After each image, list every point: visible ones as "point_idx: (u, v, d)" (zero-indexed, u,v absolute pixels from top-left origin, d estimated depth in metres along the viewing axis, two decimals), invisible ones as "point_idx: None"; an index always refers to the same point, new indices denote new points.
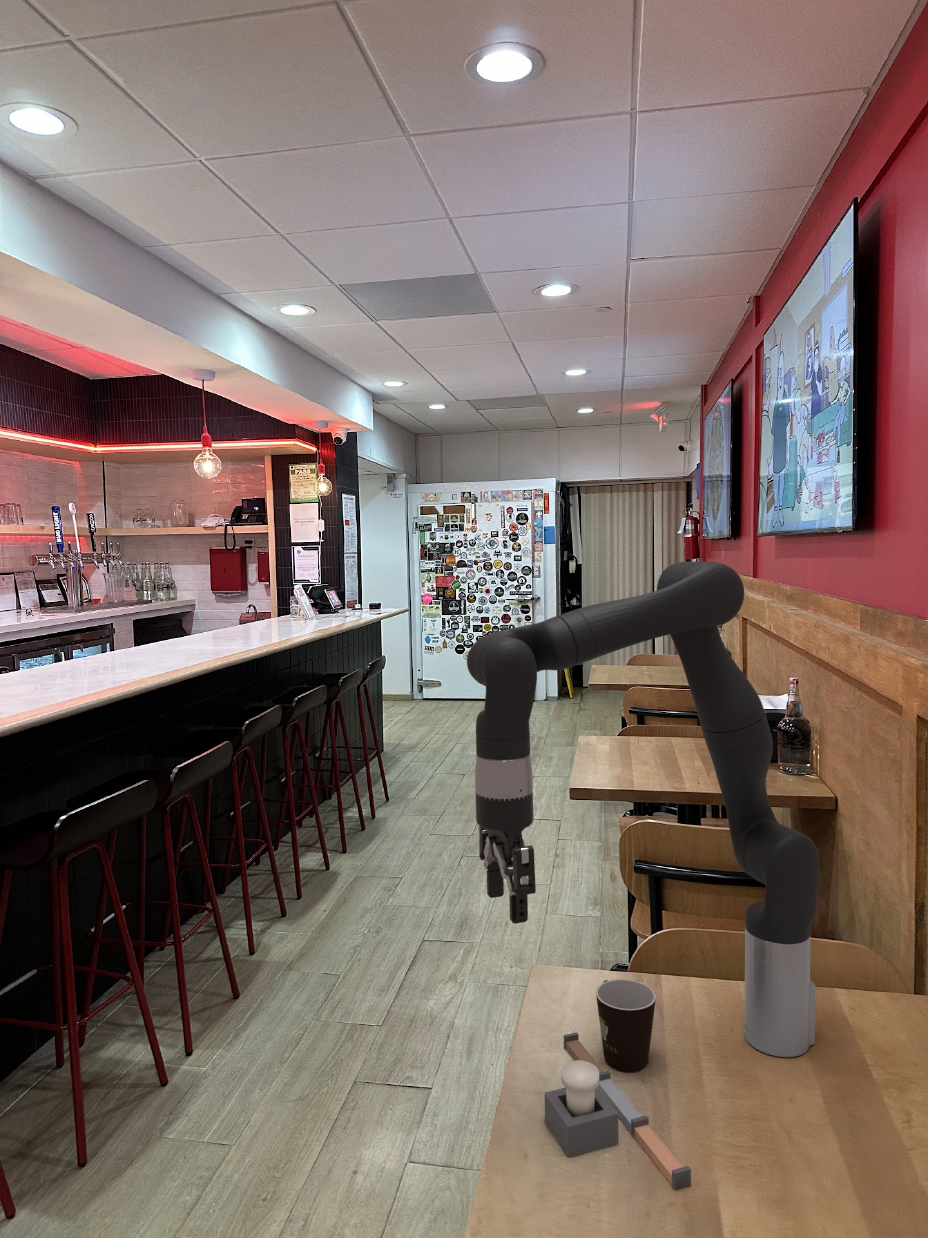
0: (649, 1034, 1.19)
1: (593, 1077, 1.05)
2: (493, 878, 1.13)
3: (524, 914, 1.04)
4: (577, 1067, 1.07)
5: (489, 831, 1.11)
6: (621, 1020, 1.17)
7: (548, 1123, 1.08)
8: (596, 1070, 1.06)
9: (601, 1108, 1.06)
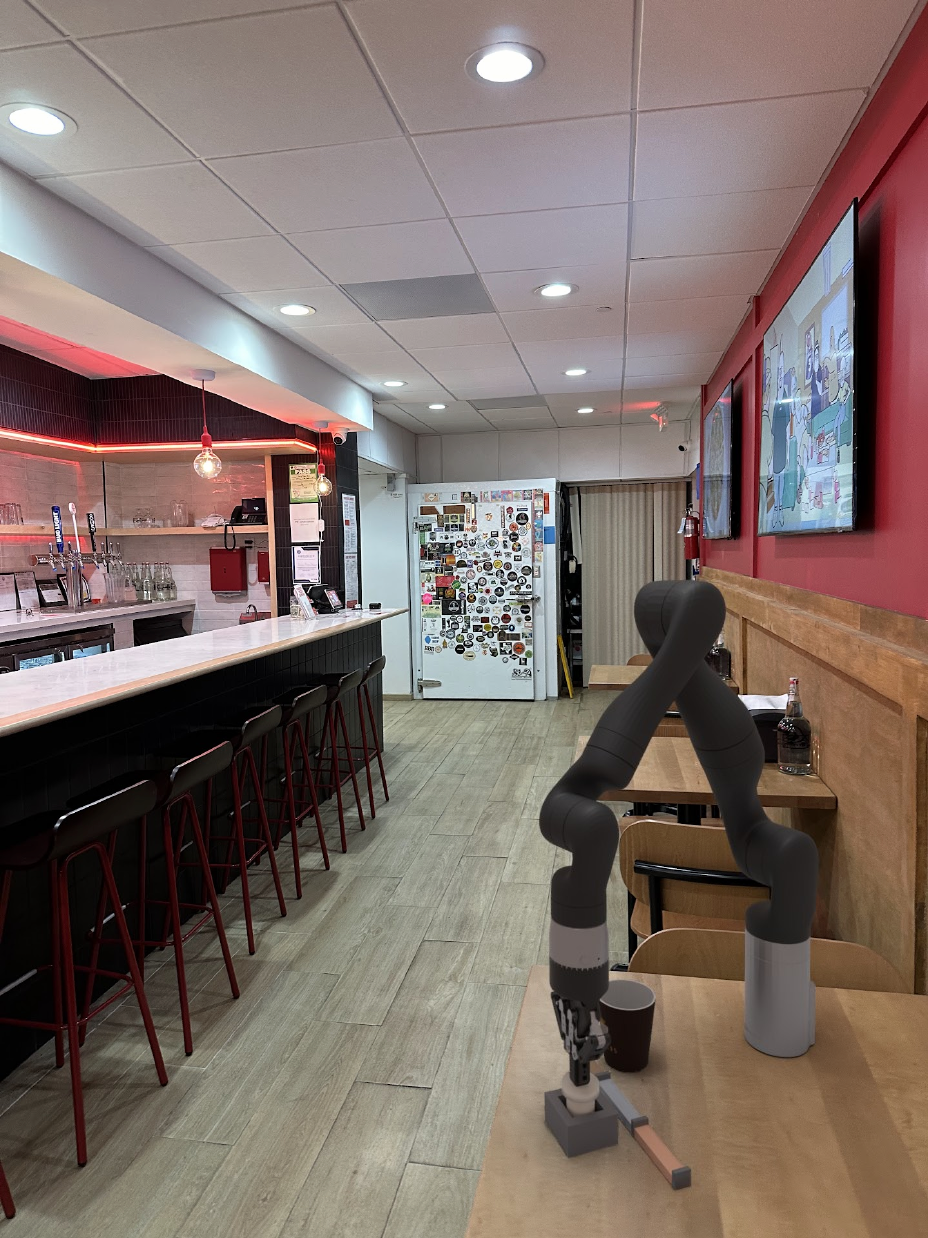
0: (649, 1034, 1.19)
1: (593, 1087, 1.05)
2: None
3: (587, 1078, 1.05)
4: None
5: None
6: (621, 1020, 1.17)
7: (548, 1123, 1.08)
8: (596, 1080, 1.06)
9: (601, 1108, 1.06)
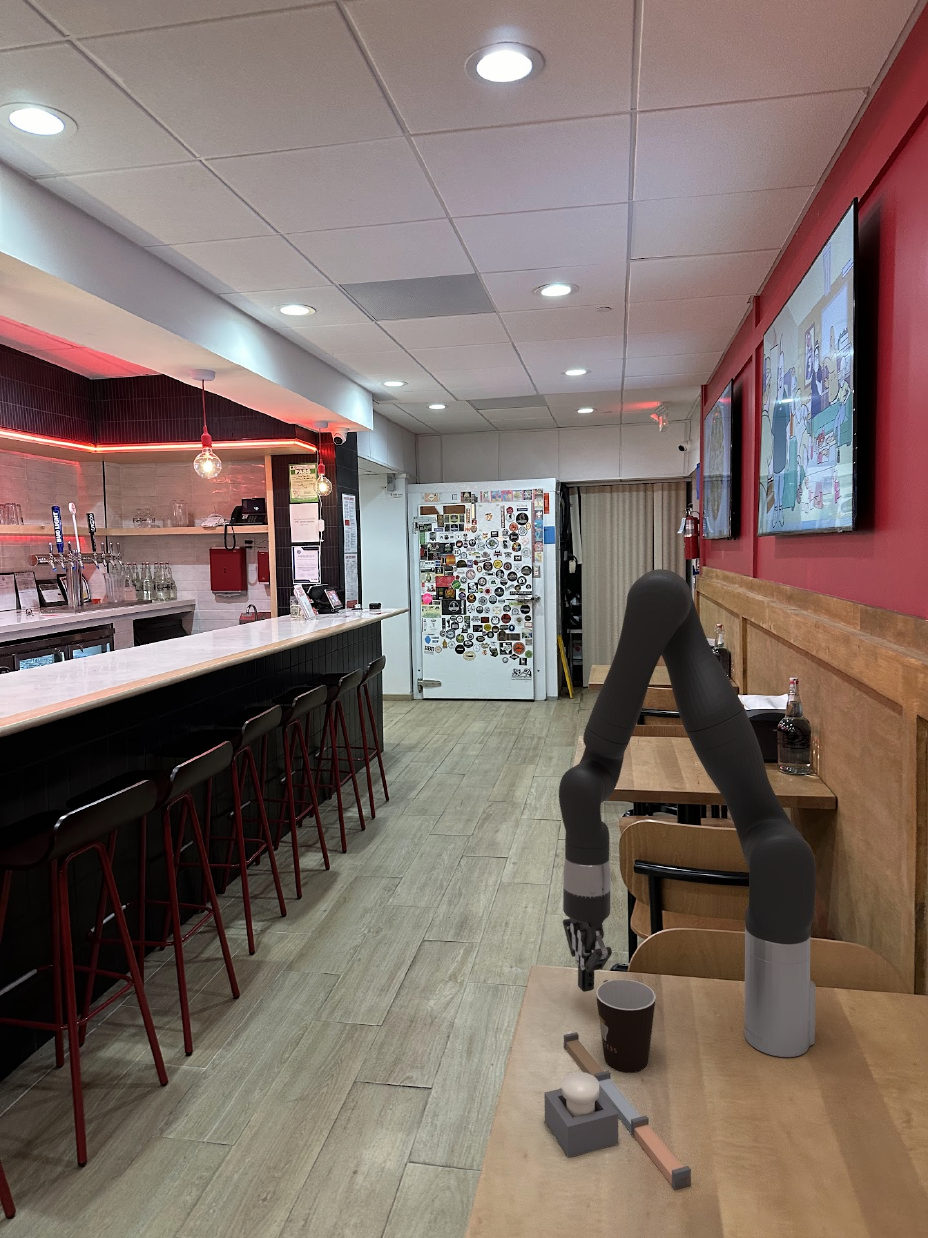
0: (649, 1034, 1.19)
1: (593, 1089, 1.05)
2: None
3: (592, 985, 1.33)
4: (577, 1079, 1.07)
5: None
6: (621, 1020, 1.17)
7: (548, 1123, 1.08)
8: (596, 1082, 1.06)
9: (601, 1108, 1.06)
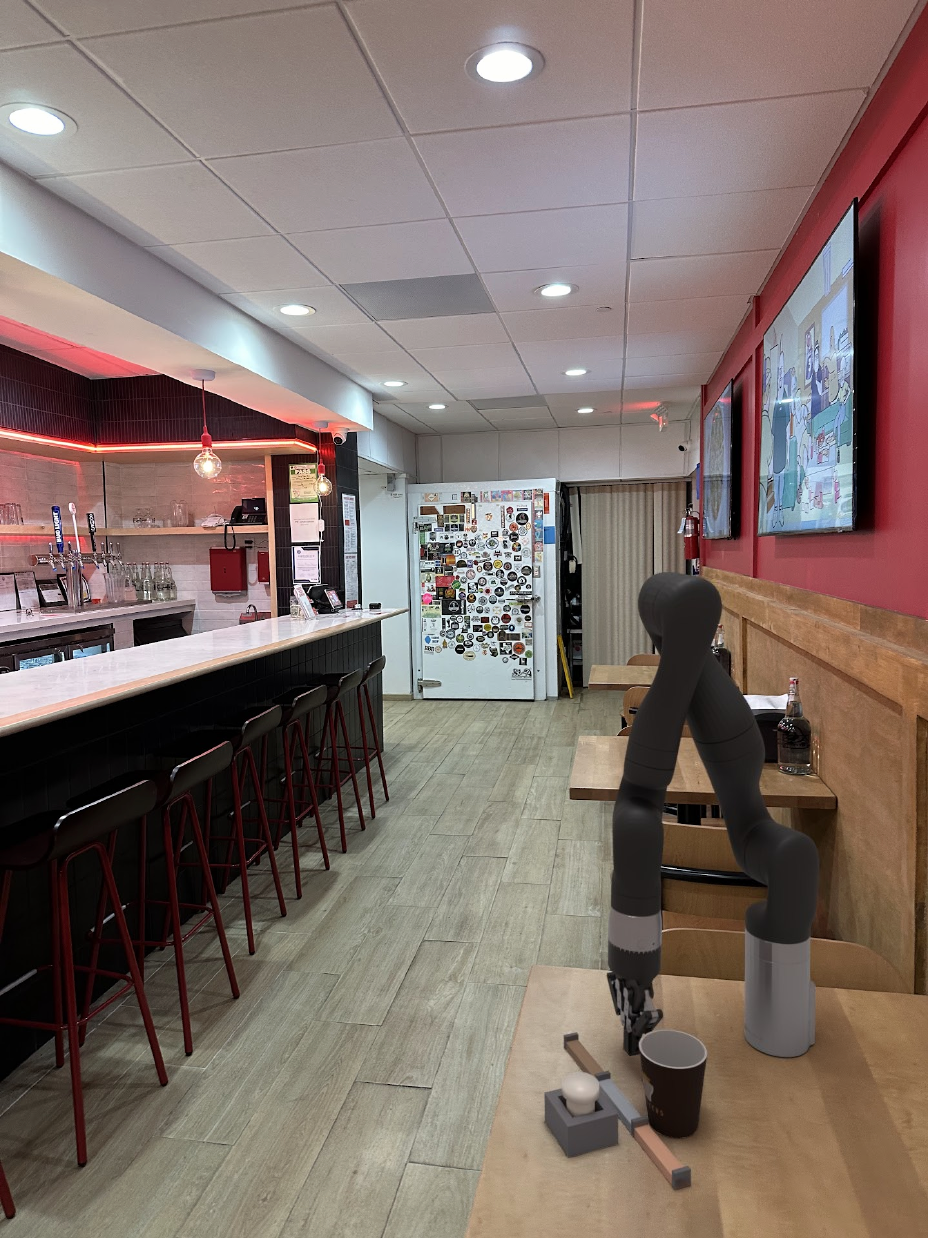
0: (700, 1094, 1.06)
1: (593, 1089, 1.05)
2: None
3: None
4: (577, 1079, 1.07)
5: None
6: (669, 1080, 1.04)
7: (548, 1123, 1.08)
8: (596, 1082, 1.06)
9: (601, 1108, 1.06)
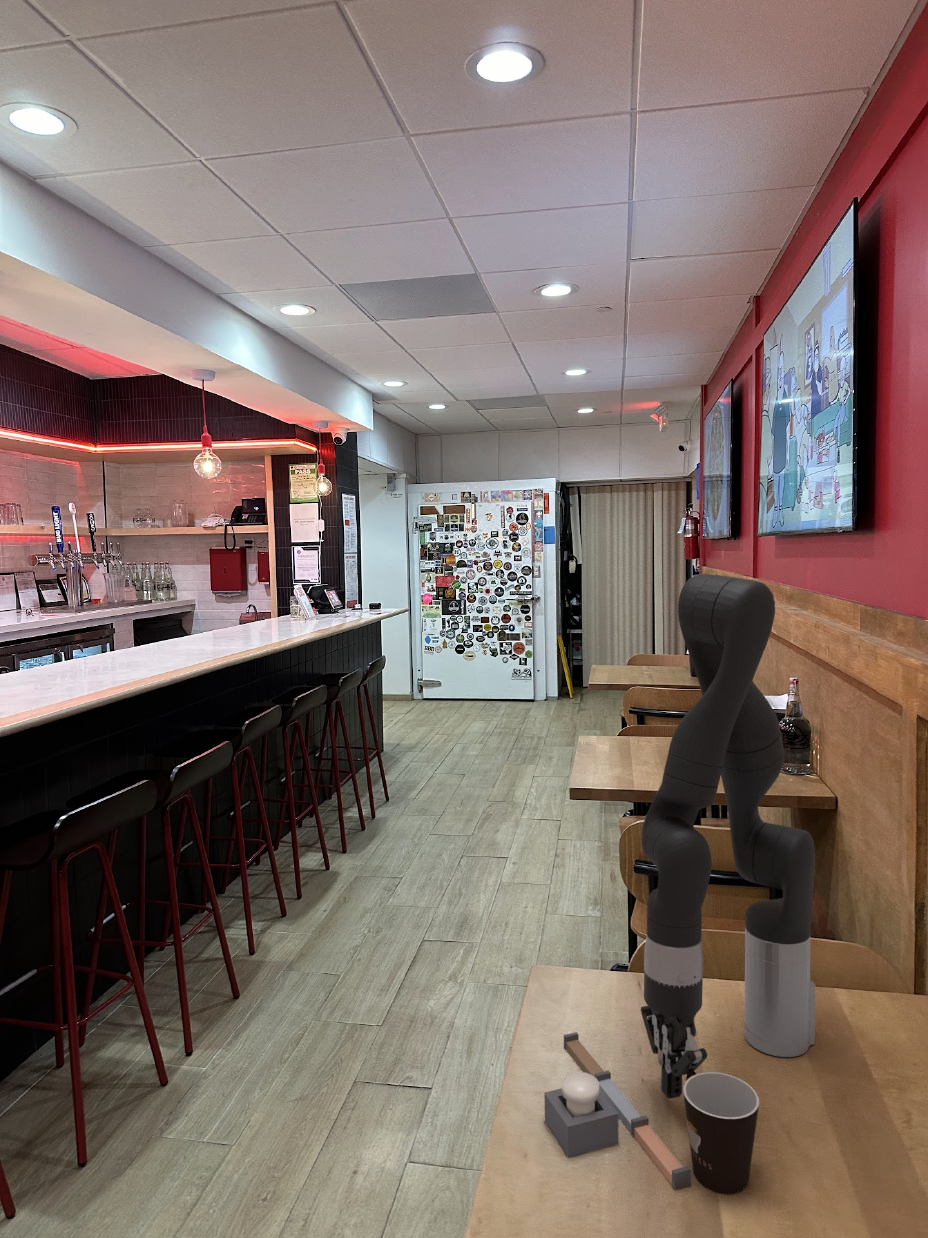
0: (751, 1146, 0.96)
1: (593, 1089, 1.05)
2: None
3: (679, 1091, 1.09)
4: (577, 1079, 1.07)
5: None
6: (719, 1131, 0.95)
7: (548, 1123, 1.08)
8: (596, 1082, 1.06)
9: (601, 1108, 1.06)
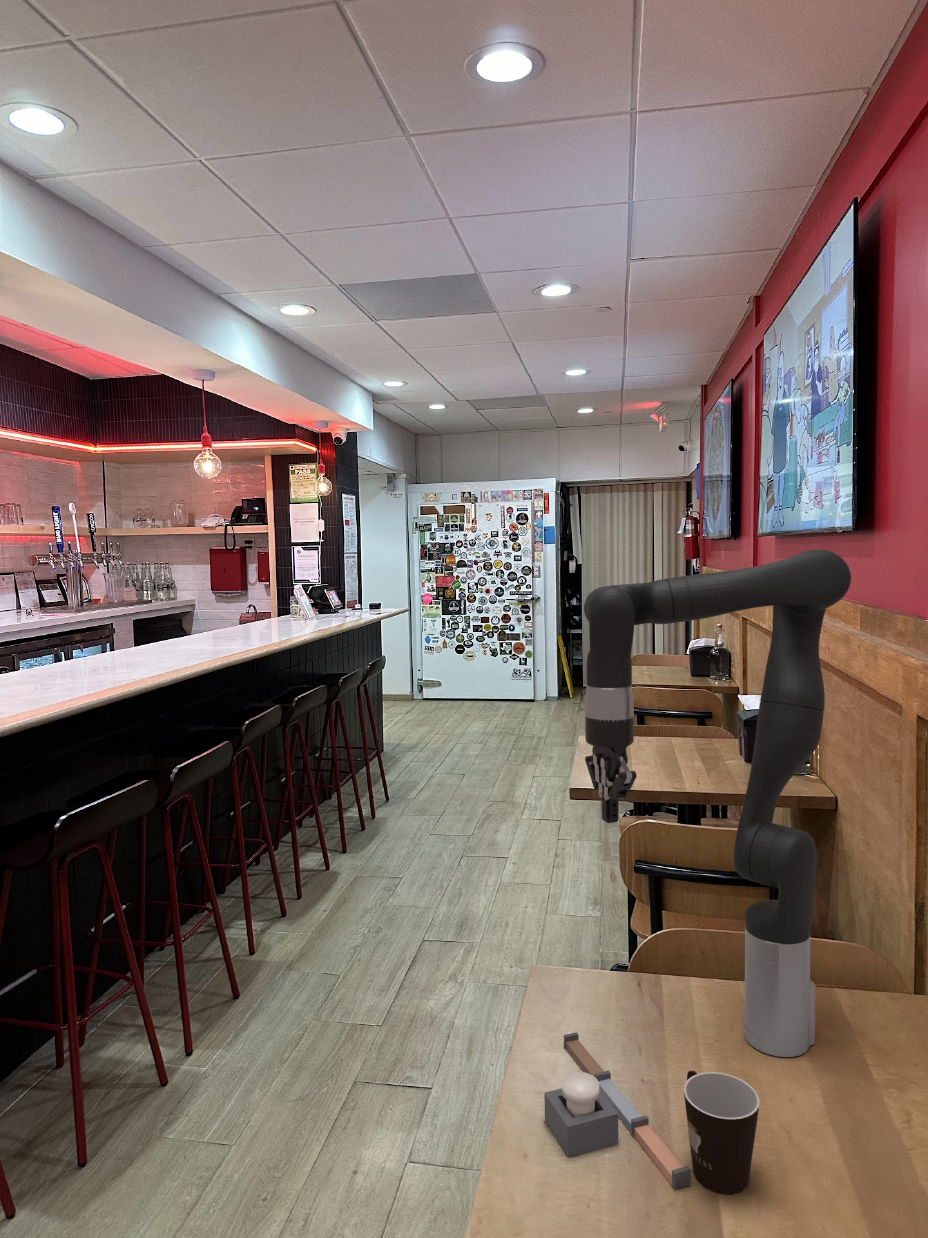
0: (752, 1146, 0.96)
1: (593, 1089, 1.05)
2: None
3: (616, 815, 1.30)
4: (577, 1079, 1.07)
5: (594, 751, 1.33)
6: (719, 1131, 0.95)
7: (548, 1123, 1.08)
8: (596, 1082, 1.06)
9: (601, 1108, 1.06)
